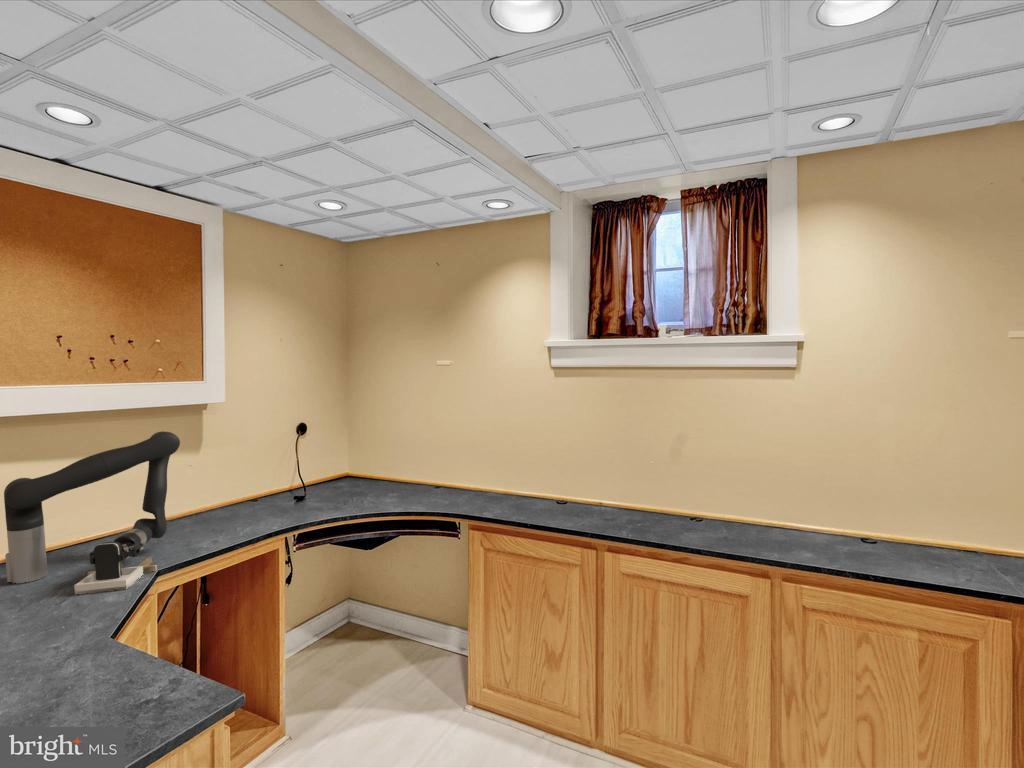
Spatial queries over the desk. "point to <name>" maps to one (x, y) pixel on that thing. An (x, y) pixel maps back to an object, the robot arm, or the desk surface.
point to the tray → (109, 581)
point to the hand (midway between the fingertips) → (105, 560)
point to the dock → (144, 564)
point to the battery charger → (107, 560)
